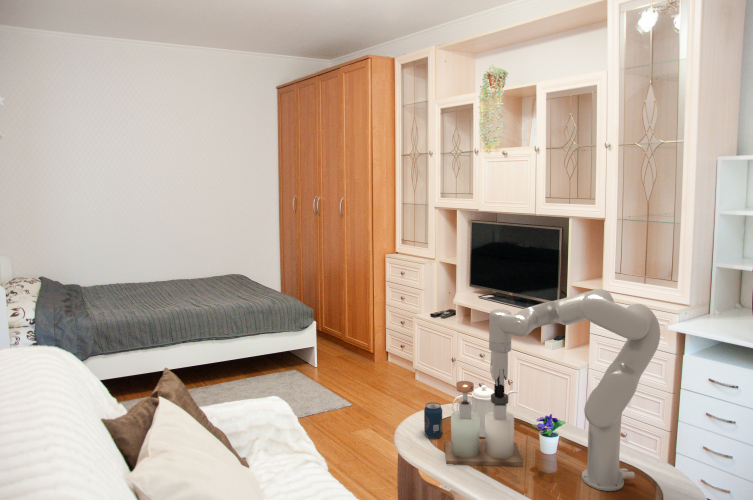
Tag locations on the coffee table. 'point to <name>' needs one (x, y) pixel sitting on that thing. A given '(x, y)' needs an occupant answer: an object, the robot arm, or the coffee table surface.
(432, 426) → the soda can
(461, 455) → the pale green bottle
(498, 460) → the walnut tray
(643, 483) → the coffee table surface
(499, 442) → the frosted white jar
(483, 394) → the coffeepot
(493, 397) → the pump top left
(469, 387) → the brown rounded piece
